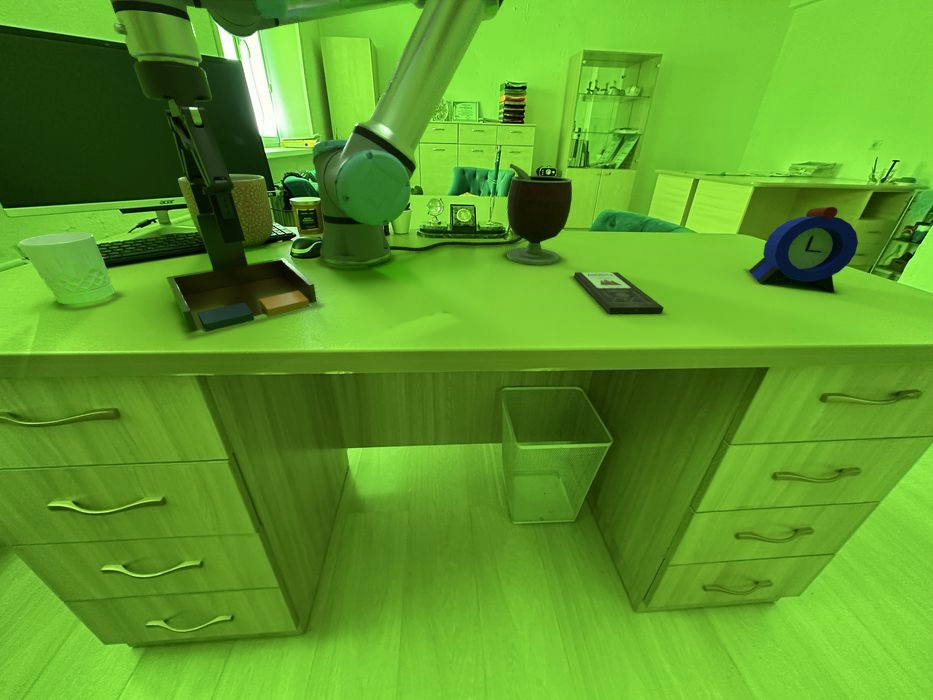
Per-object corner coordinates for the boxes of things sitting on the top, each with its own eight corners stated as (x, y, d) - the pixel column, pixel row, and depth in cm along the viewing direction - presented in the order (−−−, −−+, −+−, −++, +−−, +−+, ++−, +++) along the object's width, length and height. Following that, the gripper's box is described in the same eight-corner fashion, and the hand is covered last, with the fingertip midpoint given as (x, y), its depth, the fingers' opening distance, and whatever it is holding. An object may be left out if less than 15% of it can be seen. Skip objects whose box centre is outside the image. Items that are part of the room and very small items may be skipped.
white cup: (47, 314, 55) (7, 247, 50) (66, 296, 61) (32, 234, 56) (114, 305, 58) (83, 241, 53) (126, 289, 64) (99, 230, 59)
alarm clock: (761, 284, 74) (796, 205, 67) (746, 267, 84) (775, 197, 77) (836, 294, 70) (882, 211, 63) (811, 275, 80) (849, 202, 73)
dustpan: (287, 277, 68) (273, 207, 61) (317, 305, 60) (305, 228, 53) (174, 299, 58) (142, 218, 51) (192, 336, 50) (157, 247, 43)
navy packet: (246, 309, 56) (244, 302, 55) (254, 320, 53) (252, 312, 52) (199, 319, 52) (197, 312, 51) (206, 332, 50) (203, 324, 49)
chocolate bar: (610, 307, 59) (574, 272, 75) (608, 313, 60) (574, 276, 75) (663, 307, 60) (617, 272, 75) (662, 312, 60) (616, 276, 76)
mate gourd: (536, 247, 96) (546, 161, 86) (574, 260, 86) (591, 165, 76) (487, 254, 89) (491, 161, 79) (522, 270, 79) (532, 166, 69)
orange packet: (300, 297, 60) (298, 290, 59) (309, 306, 58) (308, 299, 57) (260, 306, 57) (258, 298, 56) (269, 316, 54) (267, 309, 54)
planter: (224, 258, 81) (201, 183, 74) (187, 246, 89) (162, 177, 81) (293, 243, 94) (279, 177, 86) (255, 233, 102) (239, 173, 94)
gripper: (124, 70, 53) (181, 223, 64) (141, 44, 37) (213, 254, 48) (186, 75, 57) (230, 218, 68) (225, 54, 41) (274, 245, 52)
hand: (223, 233), depth 58 cm, fingers open, 13 cm apart
